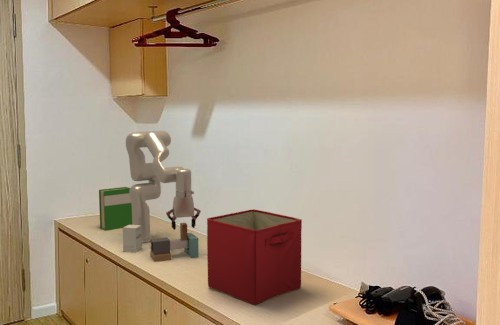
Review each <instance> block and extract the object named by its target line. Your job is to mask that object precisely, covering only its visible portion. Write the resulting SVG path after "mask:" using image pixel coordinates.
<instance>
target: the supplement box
mask: <svg viewBox="0 0 500 325" xmlns="http://www.w3.org/2000/svg"><path fill="white" fill-rule="evenodd" d="M142 244H143V243H142V234H141V225H127V226H125V227H123V228H122V252H126V253H137V252H138V251H140V250H142V248H143V247H142V246H143V245H142Z"/></svg>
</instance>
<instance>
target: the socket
mask: <svg viewBox="0 0 500 325" xmlns="http://www.w3.org/2000/svg"><path fill="white" fill-rule="evenodd" d="M187 236H188V239H189V248H185V249H184V250H183V251H184V253H185V254H186V255H187V256H188V257H189V258H190V259H197V258H199V237H197V236H196V235H195V234H194V233H192V232H187Z"/></svg>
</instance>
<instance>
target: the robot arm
mask: <svg viewBox="0 0 500 325" xmlns="http://www.w3.org/2000/svg"><path fill="white" fill-rule="evenodd" d="M171 142H172V138H171V135H170V133H168V131H165V130H154V131H136V132H131V133H129V134H128V135H127V136H126V138H125V149H126V151H127V155H128V159H129V160H128V161H129V171H130V178H131V180H132V181H134V182H142V183H135V184H133V185H131V186H130V187H129V188H130V190H129V194H130V199H131V205H132V225H141V234H142V244H144V243H151V239H154V237H153V236H151V221H150V220H151V216H150V207H149V205H148V204H147V202H146V201H151V200H152V201H153V200H157V199H158V198H160V196H161V193H162V186H161V183H162V184H169V183H170V184H171V183H175V196H174V197H173V201H172V202H173V204H172V209H170V210H169V211H166V212H165V214H166V216H167V218H168V219H169V220H170V221H171V228H172V230H174V231H175V230H176V227H177V226H176V220H177V219H178V218H190V217H191V219H190V220H191V228H192V229H195V226H197V225H196V220H197V219H198V218H199V216H200V214H201V209H198V208H196V207H195V205H194V204H195V203H194V198H193V196H192V195H194V194H195V191H194V190H192V171H191V169H188V168H184V167H183V166H171V167H164V166H163V165H162V162H163V161H165V160H166V159H167V158H168V157H169V155H170V150H169V148H168V147H169V146H170V145H171ZM141 148H147V149H148V151H149V152H150V154H151V155H152V158H153V159H152V162H146V155H145V153H144V152H143V151H142V149H141ZM143 181H148V182H143ZM195 212H196V213H195ZM171 214H172V216H171Z"/></svg>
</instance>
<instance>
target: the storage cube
mask: <svg viewBox="0 0 500 325" xmlns="http://www.w3.org/2000/svg"><path fill="white" fill-rule="evenodd" d="M302 220H303V219H301V218H298V217H294V216H289V215H284V214H278V213H274V212H269V211H264V210H260V209H254V208H253V209H248V210H247V209H246V210H242V211H238V212H231V213H227V214H222V215H216V216H213V217H207V218H206V224H207V226H206V228H207V229H206V231H207V232H206V236H207V237H206V243H207V244H206V245H207V246H206V248H207V249H206V250H207V252H206V253H207V286H208V288H210V289H213V290H215V291H217V292H220V293H224V294H226V295H228V296H231V297H232V298H233V297H234V298H236V299H238V300H240V301H242V302H243V301H244V302H246V303H248V304H251V305H252V306H256V305H258V304H260V303H262V302H265V301H268V300H270V299H273V298H276V297H278V296H281V295H284V294H286V293H290V292H293V291H296V290H299V289H300V288H301V287H302V228H303V226H302Z"/></svg>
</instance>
